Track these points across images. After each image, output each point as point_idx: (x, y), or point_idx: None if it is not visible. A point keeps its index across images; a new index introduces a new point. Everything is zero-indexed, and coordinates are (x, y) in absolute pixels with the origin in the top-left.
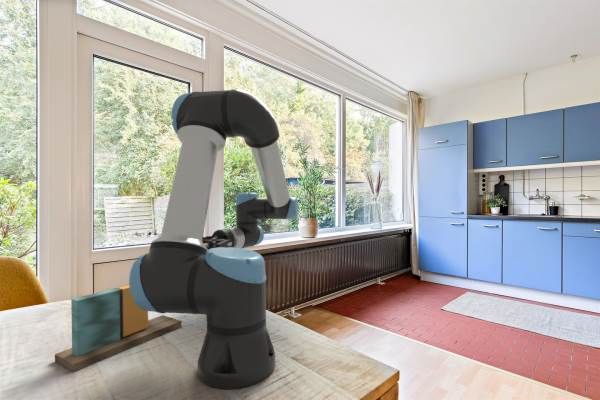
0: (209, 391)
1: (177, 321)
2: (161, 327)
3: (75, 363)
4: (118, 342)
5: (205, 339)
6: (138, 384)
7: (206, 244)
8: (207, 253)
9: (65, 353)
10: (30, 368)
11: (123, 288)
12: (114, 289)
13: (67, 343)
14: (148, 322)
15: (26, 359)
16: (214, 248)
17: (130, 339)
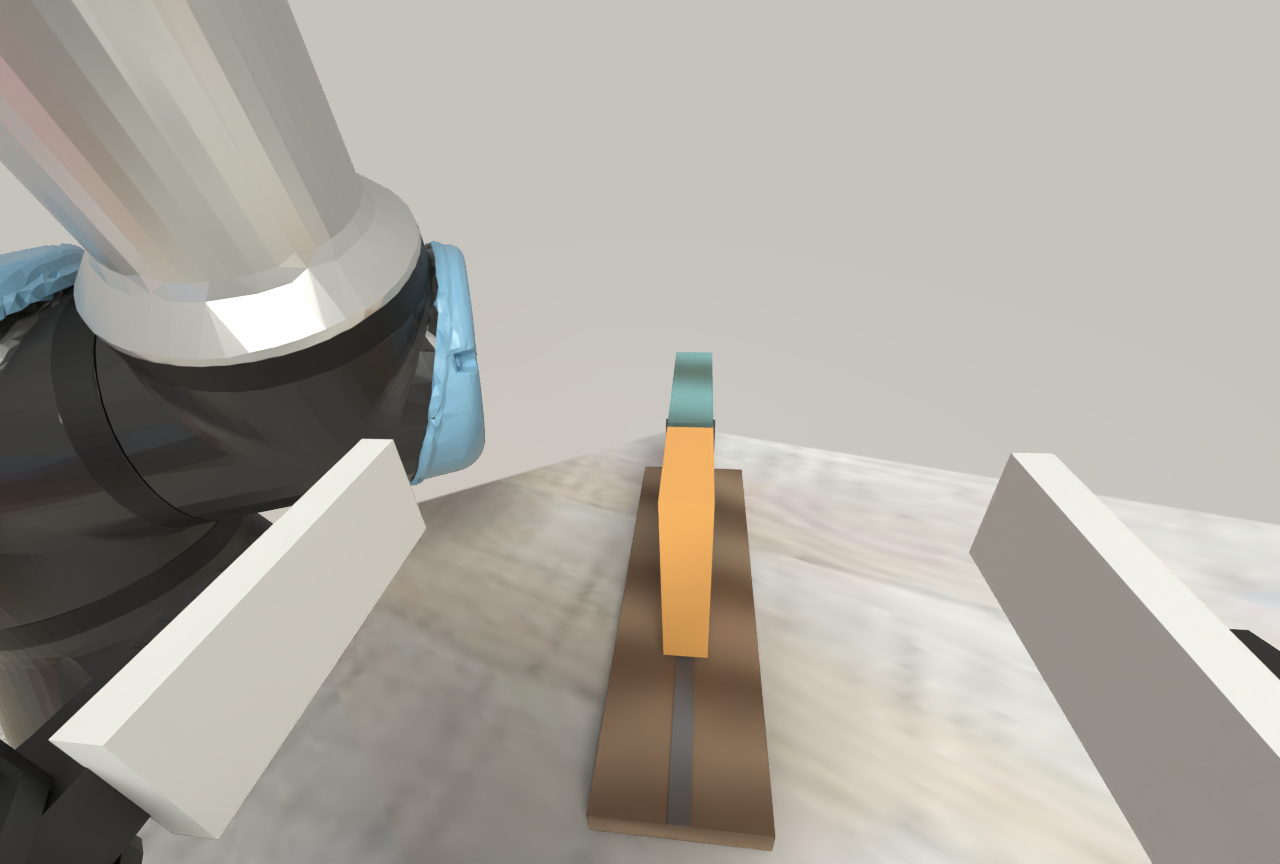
0: None
1: (601, 794)
2: (621, 696)
3: (645, 470)
4: (656, 553)
5: (261, 516)
6: (463, 510)
7: (100, 700)
8: (77, 246)
9: (721, 478)
10: (755, 461)
11: (677, 430)
12: (698, 416)
13: (850, 535)
14: (734, 709)
15: (818, 470)
16: (18, 259)
17: (639, 577)
